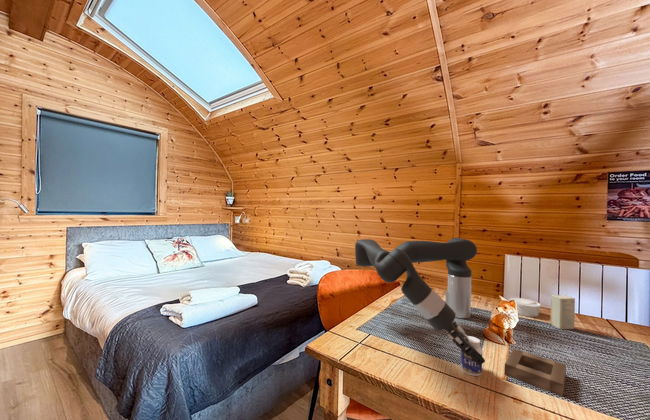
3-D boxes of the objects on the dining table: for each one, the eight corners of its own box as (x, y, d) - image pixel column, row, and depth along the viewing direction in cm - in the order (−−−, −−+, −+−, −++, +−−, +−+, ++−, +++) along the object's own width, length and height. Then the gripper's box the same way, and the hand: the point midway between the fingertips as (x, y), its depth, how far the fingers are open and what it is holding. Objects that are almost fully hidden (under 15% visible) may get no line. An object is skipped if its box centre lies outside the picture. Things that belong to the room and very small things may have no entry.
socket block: (504, 374, 74) (504, 363, 74) (513, 358, 82) (513, 348, 82) (562, 396, 65) (563, 384, 65) (565, 375, 74) (566, 364, 74)
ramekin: (542, 320, 113) (542, 307, 113) (510, 314, 119) (510, 302, 119) (538, 312, 122) (538, 300, 122) (509, 307, 128) (509, 296, 128)
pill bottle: (461, 373, 73) (462, 341, 73) (459, 363, 78) (460, 333, 78) (483, 378, 72) (484, 345, 72) (479, 367, 76) (480, 336, 77)
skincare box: (564, 324, 109) (565, 294, 109) (575, 329, 104) (575, 298, 104) (549, 324, 108) (550, 294, 108) (559, 329, 104) (560, 298, 104)
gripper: (421, 308, 85) (461, 352, 82) (426, 327, 71) (475, 380, 68) (439, 293, 84) (481, 337, 81) (448, 309, 70) (499, 363, 67)
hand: (478, 356), depth 74 cm, fingers closed on pill bottle, 5 cm apart
